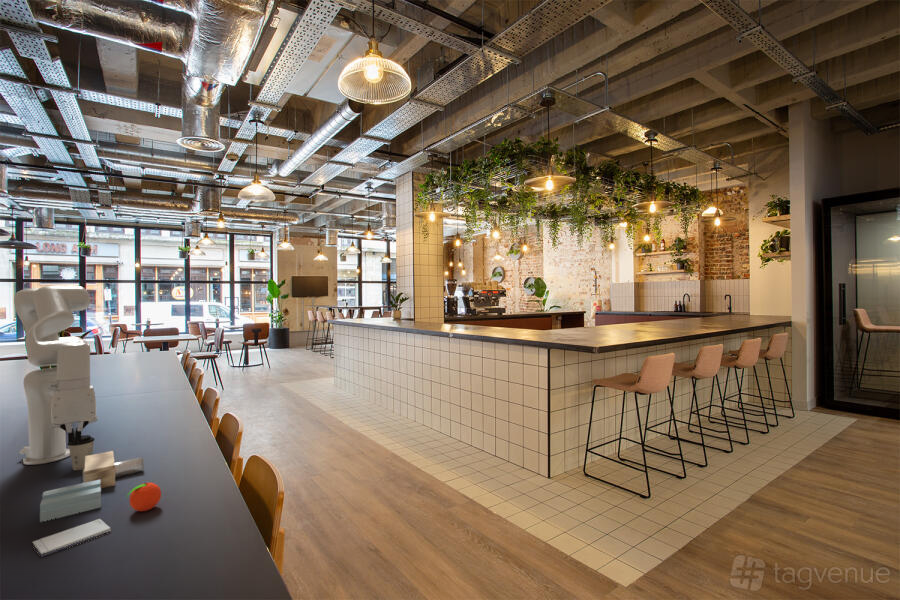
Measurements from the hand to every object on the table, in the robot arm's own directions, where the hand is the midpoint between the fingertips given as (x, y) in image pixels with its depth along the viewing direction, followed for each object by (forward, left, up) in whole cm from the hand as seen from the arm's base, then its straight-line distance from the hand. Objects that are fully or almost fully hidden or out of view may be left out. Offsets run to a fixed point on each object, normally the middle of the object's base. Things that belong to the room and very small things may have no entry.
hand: (74, 443), depth 132 cm
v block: (+11, -14, -12) cm, 22 cm away
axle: (+8, +5, -13) cm, 16 cm away
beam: (+5, +3, -12) cm, 14 cm away
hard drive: (+24, -30, -13) cm, 41 cm away
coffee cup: (-9, +13, -13) cm, 20 cm away
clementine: (+32, -18, -13) cm, 39 cm away
